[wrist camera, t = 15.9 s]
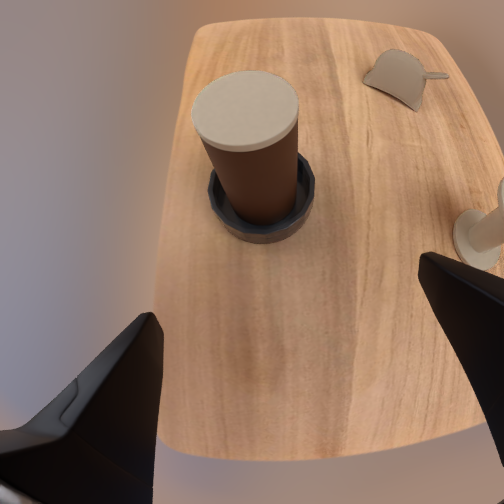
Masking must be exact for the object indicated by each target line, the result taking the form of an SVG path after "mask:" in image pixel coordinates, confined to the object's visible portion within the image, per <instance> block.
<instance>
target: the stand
mask: <svg viewBox="0 0 504 504" xmlns="http://www.w3.org/2000/svg"><path fill="white" fill-rule="evenodd" d="M497 197H498V205H499V207H497V208H496V209H495V210H493V211H492V212H490V213H489V214H488V215H486V214H485V213H483V212H482V211H479V210H476V209H469V210H466V211H464V212H463V213H462V214H460V215H459V217H458V218H457V219H456V221H455V224H454V228H453V241H454V246H455V249H456V251H457V253H458V255H459V257H460V259H461V260H462V261H463V263H464V264H467V265H470V266H472V267H475V268H477V269H480V270H483V271H486V270H488V269H491V268H492V267H493V266H494V265H495V264H496V263H497V261H498V259H499V256H500V251H501V245H502V244H503V243H504V177H503V178H502V180H501V181H500V183H499V186H498V193H497Z"/></svg>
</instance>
